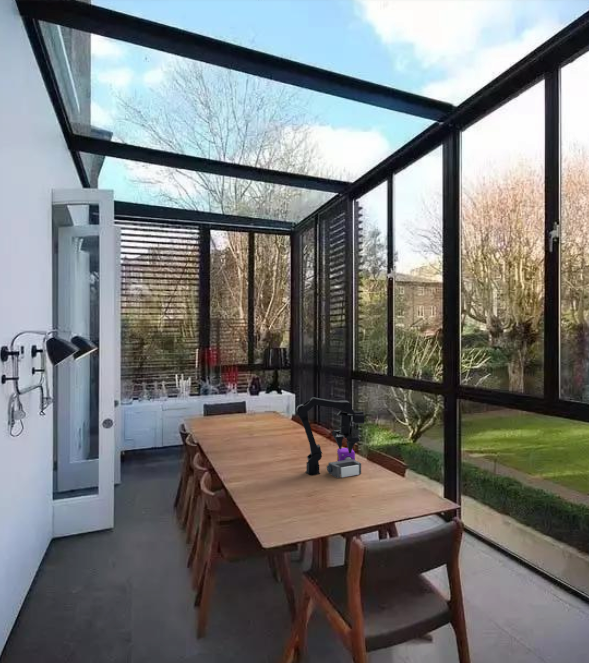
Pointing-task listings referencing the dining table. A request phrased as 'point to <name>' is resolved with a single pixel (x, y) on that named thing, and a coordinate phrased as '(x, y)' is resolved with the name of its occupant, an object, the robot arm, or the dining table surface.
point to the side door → (349, 471)
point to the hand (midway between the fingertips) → (345, 451)
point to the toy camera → (345, 454)
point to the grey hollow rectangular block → (335, 467)
